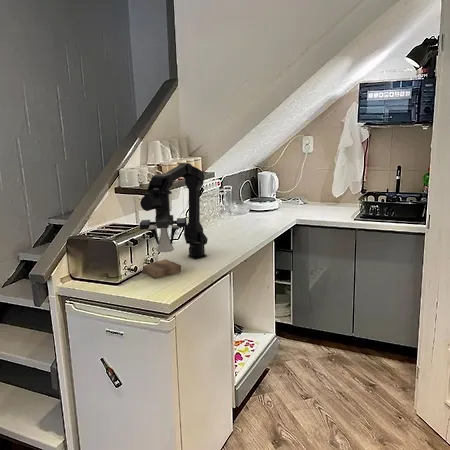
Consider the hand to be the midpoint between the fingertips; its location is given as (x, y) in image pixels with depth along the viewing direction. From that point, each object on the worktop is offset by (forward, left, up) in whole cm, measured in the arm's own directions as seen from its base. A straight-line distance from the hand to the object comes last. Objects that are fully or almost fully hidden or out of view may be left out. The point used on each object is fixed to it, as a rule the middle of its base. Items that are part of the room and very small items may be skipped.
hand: (164, 244), depth 186 cm
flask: (0, 0, -3) cm, 3 cm away
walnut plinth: (+2, -2, -12) cm, 12 cm away
